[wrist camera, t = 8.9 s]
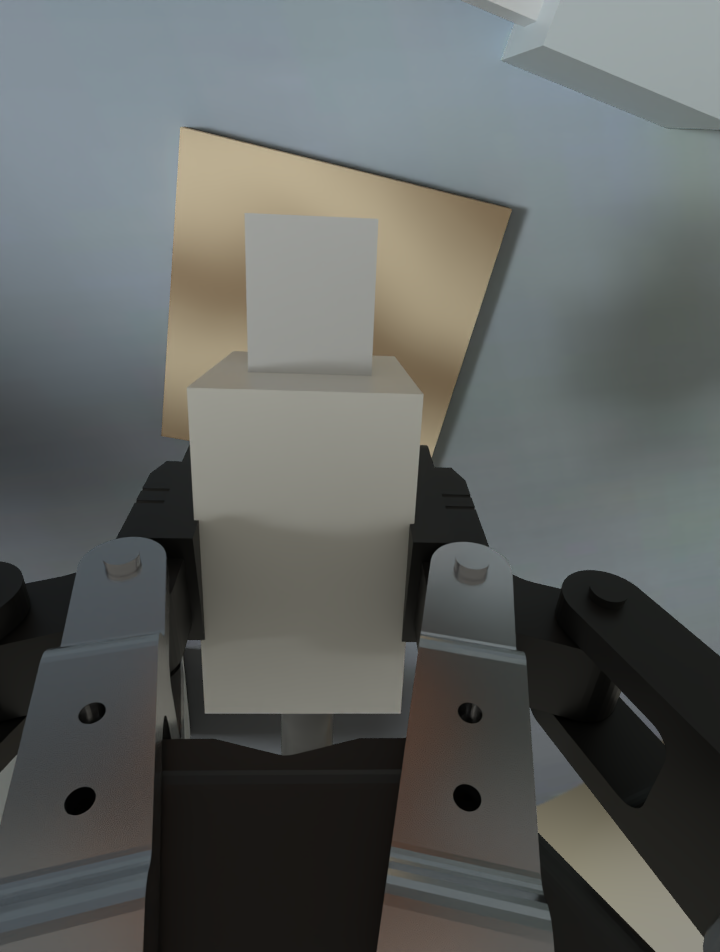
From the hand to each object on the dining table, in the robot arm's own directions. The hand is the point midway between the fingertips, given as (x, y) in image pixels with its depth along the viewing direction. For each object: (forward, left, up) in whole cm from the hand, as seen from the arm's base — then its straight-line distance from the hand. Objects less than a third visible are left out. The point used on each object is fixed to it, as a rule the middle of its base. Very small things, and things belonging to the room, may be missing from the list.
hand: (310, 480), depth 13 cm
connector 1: (-1, 0, -1) cm, 1 cm away
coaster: (0, 0, -11) cm, 11 cm away
